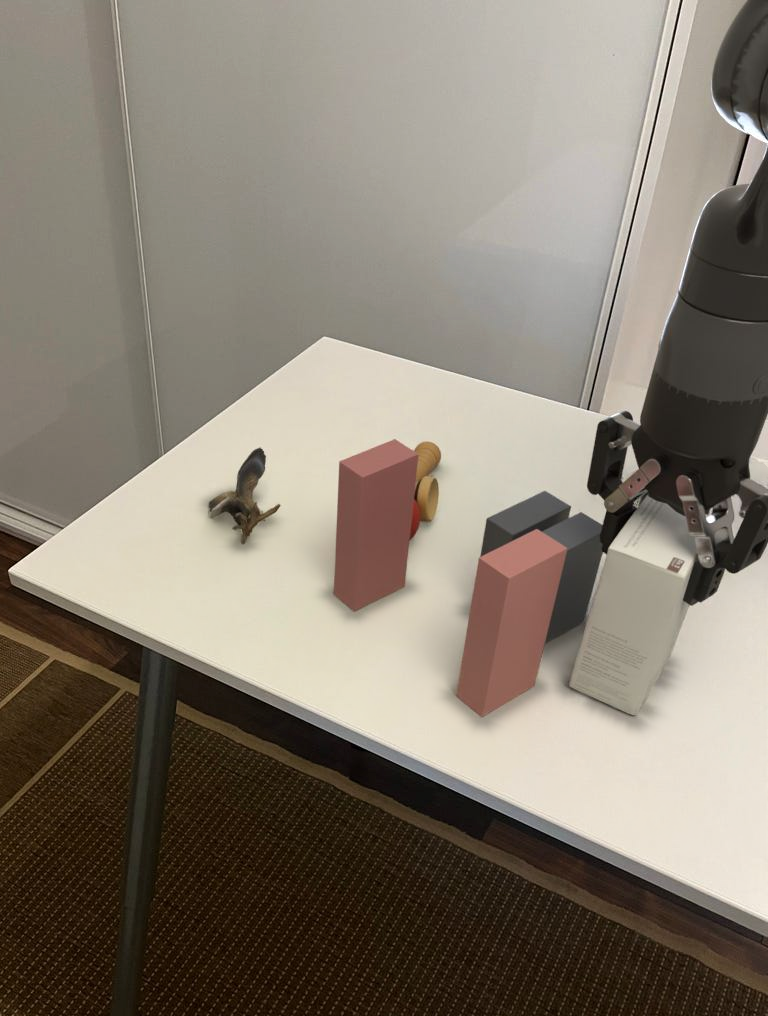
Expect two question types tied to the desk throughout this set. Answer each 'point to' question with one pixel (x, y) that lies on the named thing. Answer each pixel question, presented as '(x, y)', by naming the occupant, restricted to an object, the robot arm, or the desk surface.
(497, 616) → the rose book
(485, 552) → the grey book
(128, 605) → the desk surface
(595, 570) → the grey book
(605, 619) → the cosmetic box
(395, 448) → the rose book
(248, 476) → the eagle figurine
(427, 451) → the kendama
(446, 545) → the desk surface
